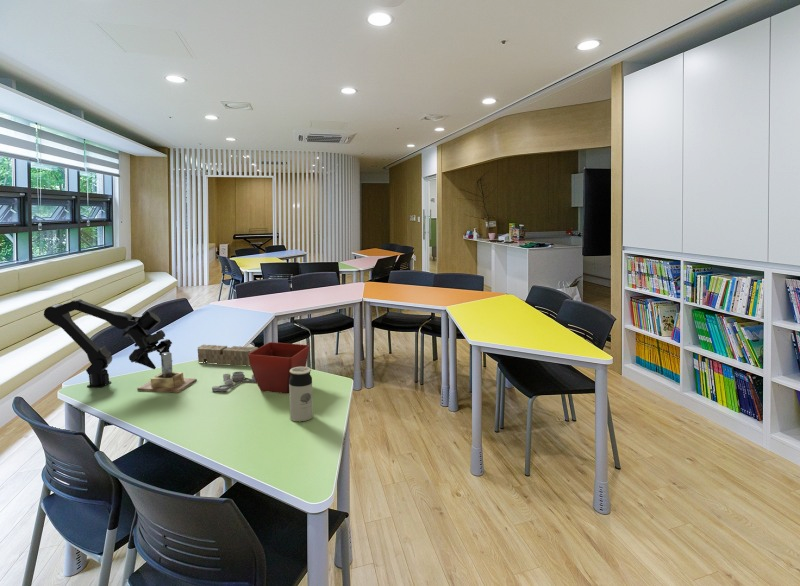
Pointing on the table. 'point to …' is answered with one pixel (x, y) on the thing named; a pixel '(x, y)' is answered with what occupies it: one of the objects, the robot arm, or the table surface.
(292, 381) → the travel mug
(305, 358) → the plant pot
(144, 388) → the socket board
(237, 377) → the pulley system
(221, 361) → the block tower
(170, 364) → the metal pin
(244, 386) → the table surface
